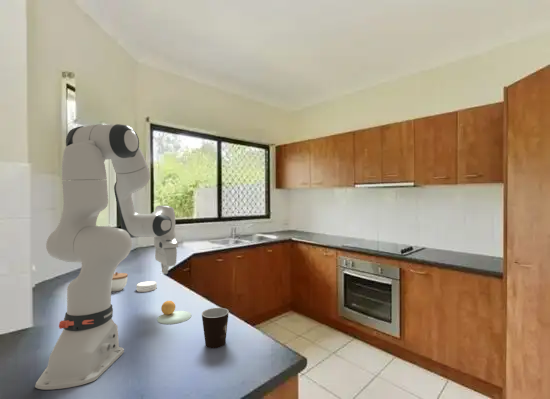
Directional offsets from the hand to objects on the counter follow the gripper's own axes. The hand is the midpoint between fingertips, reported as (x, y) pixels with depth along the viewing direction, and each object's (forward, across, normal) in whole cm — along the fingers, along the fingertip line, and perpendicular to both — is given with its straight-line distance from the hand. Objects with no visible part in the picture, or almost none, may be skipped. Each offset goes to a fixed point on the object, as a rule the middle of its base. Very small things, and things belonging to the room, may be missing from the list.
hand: (165, 273), depth 125 cm
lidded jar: (+15, -44, -13) cm, 49 cm away
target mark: (+15, +14, 0) cm, 21 cm away
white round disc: (+16, -35, 0) cm, 38 cm away
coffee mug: (+15, +44, +5) cm, 46 cm away
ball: (+12, +9, -1) cm, 15 cm away
